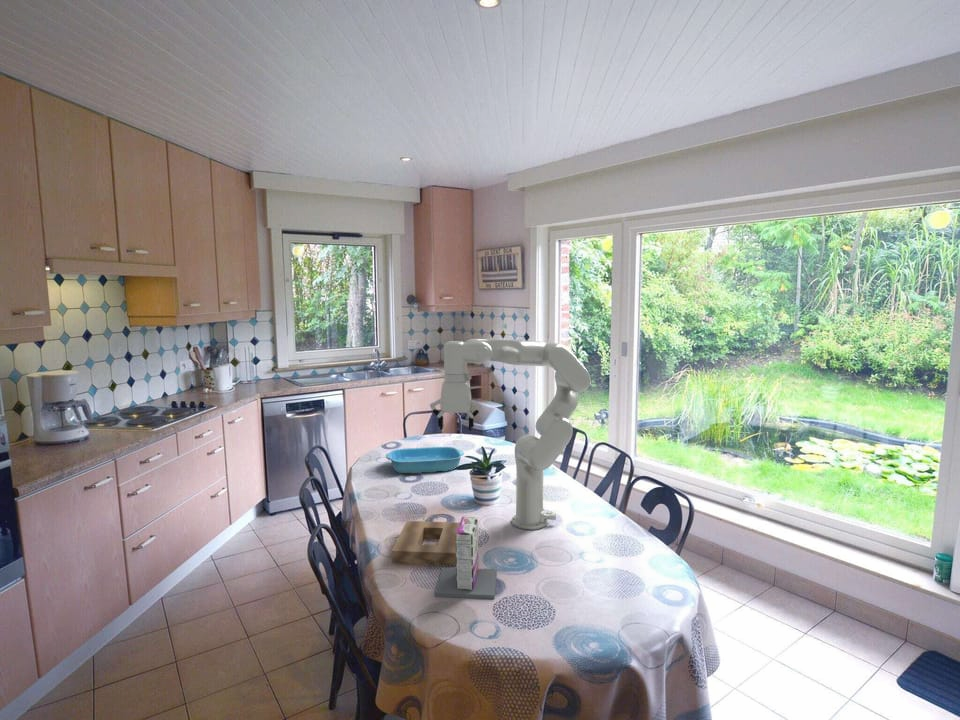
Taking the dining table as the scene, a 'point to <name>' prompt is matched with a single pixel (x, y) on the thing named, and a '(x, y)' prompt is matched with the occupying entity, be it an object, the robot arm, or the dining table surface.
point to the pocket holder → (414, 552)
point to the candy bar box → (467, 553)
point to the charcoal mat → (481, 590)
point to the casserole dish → (425, 459)
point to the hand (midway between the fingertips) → (455, 428)
